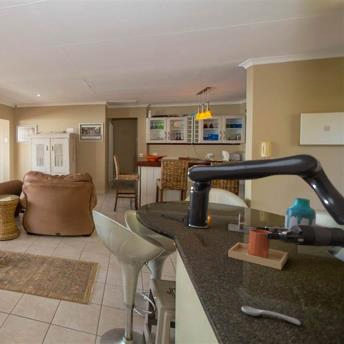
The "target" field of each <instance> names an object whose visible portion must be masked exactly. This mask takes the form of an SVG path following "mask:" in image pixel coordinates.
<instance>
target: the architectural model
mask: <svg viewBox="0 0 344 344" xmlns="http://www.w3.org/2000/svg"><path fill="white" fill-rule="evenodd" d="M250 229H255V227H254V226H249V225H248V221H247V220H245V214H241V213H239V216H238V224H236V223H235V224H234V223H228V226H227V230H228V231H232V232H240V233H244V234H245V233H247V234H249V230H250Z"/></svg>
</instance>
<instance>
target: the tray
mask: <svg viewBox="0 0 344 344" xmlns="http://www.w3.org/2000/svg"><path fill="white" fill-rule="evenodd" d="M227 253H228V254H227V257H228V258H232V259H235V260H239V261H244V262H248V263H252V264H256V265H260V266H263V267H269V268H272V269H276V270H280V271H281V270H282V269H283V267H284V265H285V264H286V262H287V260H288V254H289V253H288V252H287V251H282V250H277V249H272V248H269V257H268V259H266V258H261V257H257V256H253V255H248V243H244V242H237V243H236V244H235V245H233V246H232V247H231V248H229V249H228V252H227Z"/></svg>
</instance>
